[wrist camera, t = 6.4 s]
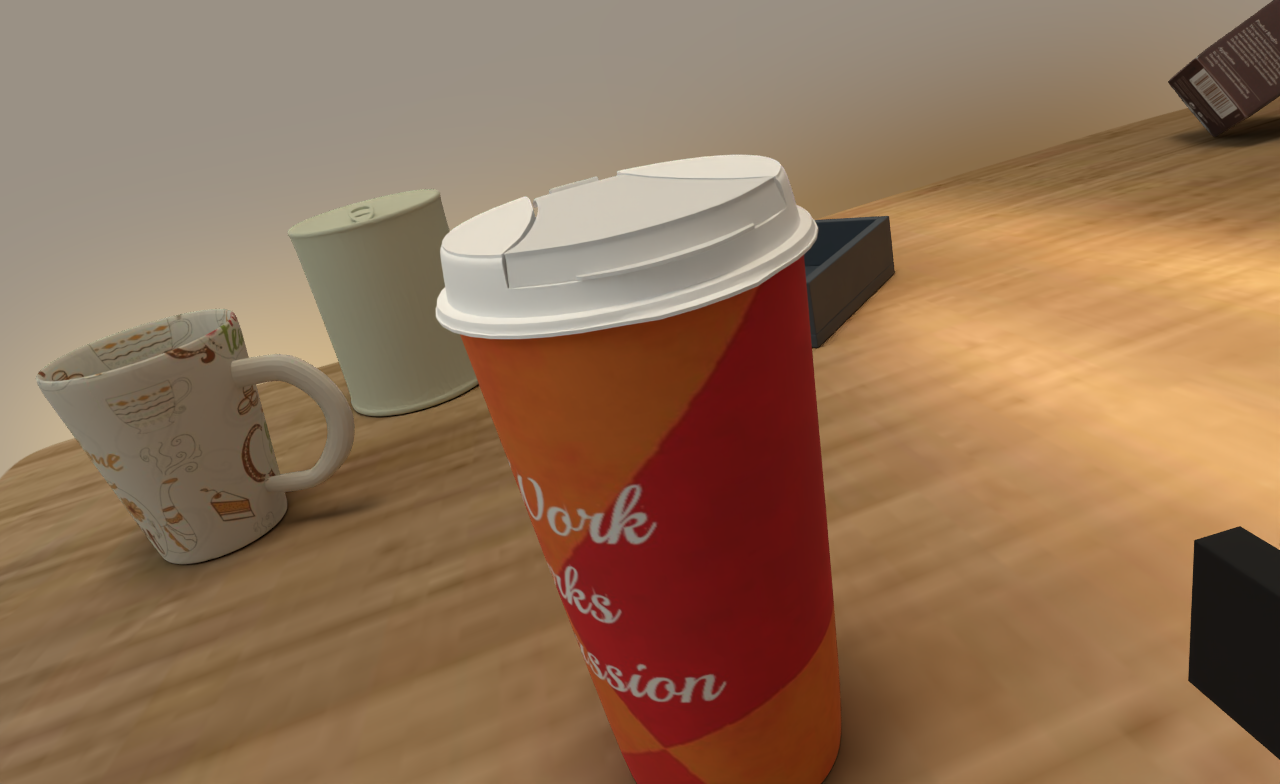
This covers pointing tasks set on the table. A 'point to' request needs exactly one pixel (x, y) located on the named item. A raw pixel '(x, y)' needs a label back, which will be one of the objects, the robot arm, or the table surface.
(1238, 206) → the table surface
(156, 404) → the mug
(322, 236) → the can
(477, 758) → the table surface
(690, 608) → the coffee cup
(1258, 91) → the box
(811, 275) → the tray
